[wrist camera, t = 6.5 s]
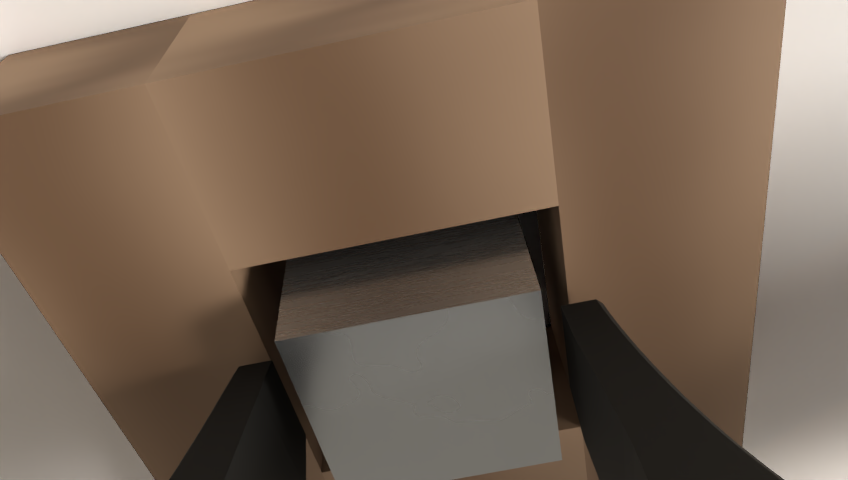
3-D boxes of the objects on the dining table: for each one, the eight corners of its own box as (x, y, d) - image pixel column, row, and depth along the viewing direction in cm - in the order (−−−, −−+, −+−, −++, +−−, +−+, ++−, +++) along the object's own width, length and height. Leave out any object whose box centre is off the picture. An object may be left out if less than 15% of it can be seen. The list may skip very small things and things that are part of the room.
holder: (702, -100, 12) (792, -57, 9) (688, 395, 18) (737, 495, 16) (8, 55, 12) (-83, 132, 10) (244, 474, 19) (224, 581, 17)
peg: (494, 143, 14) (541, 290, 10) (516, 294, 16) (561, 460, 13) (298, 183, 14) (274, 341, 11) (347, 327, 17) (343, 499, 13)
